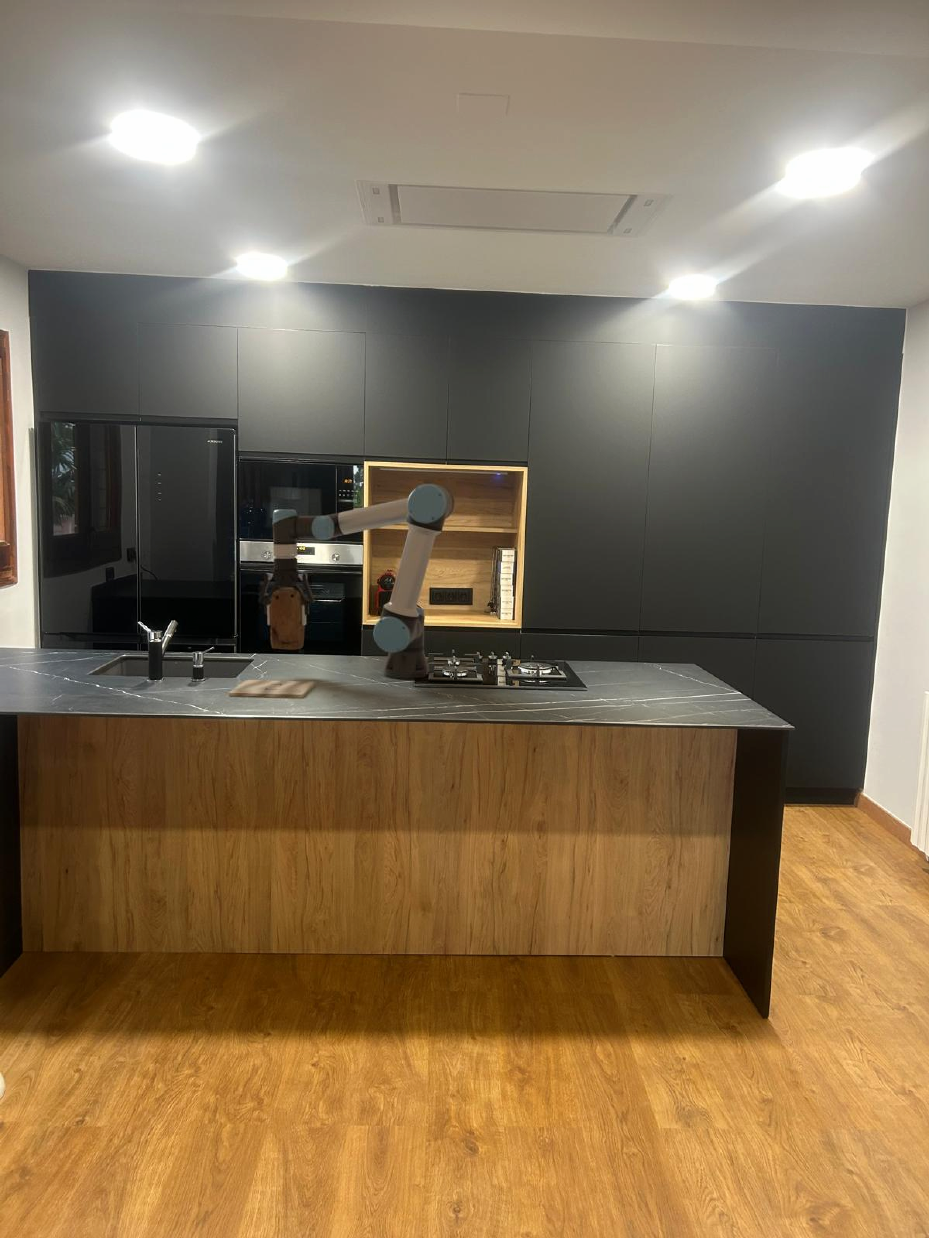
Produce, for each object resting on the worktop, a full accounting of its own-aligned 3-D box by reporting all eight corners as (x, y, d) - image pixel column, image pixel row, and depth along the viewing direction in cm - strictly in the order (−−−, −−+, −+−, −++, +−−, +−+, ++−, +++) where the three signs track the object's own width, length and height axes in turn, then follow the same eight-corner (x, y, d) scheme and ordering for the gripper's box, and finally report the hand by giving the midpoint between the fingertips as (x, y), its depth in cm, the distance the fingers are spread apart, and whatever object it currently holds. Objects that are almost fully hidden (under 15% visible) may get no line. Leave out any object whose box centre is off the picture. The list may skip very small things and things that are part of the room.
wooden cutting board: (315, 684, 266) (315, 681, 266) (302, 697, 248) (302, 694, 248) (246, 682, 267) (246, 679, 267) (228, 696, 249) (228, 692, 249)
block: (306, 646, 281) (305, 587, 278) (301, 650, 273) (299, 589, 270) (274, 646, 281) (272, 586, 278) (268, 650, 274) (266, 589, 271)
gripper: (323, 556, 276) (324, 623, 279) (253, 556, 277) (255, 622, 280) (318, 558, 269) (319, 626, 272) (246, 557, 269) (248, 625, 273)
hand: (287, 624), depth 276 cm, fingers closed on block, 11 cm apart
